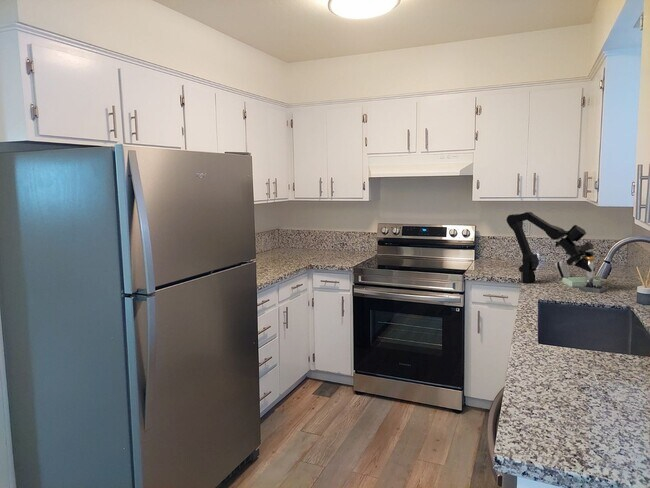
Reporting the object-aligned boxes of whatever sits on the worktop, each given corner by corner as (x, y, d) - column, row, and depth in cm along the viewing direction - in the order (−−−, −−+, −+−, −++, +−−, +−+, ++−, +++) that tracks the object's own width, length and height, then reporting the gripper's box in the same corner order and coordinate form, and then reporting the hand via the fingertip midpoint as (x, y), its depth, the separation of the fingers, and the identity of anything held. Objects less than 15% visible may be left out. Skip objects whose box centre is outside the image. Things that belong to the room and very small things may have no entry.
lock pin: (587, 287, 227) (587, 257, 226) (583, 286, 231) (584, 256, 230) (595, 287, 227) (596, 257, 225) (591, 286, 231) (592, 256, 229)
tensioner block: (579, 290, 230) (579, 284, 230) (585, 288, 234) (585, 282, 234) (599, 292, 222) (599, 286, 222) (605, 290, 227) (605, 284, 226)
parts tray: (572, 287, 238) (572, 281, 237) (562, 283, 250) (562, 277, 249) (600, 286, 236) (600, 281, 236) (589, 282, 248) (589, 277, 248)
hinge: (569, 278, 261) (562, 262, 262) (560, 281, 264) (554, 264, 265) (570, 274, 276) (564, 258, 276) (562, 276, 278) (556, 260, 279)
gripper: (573, 238, 224) (597, 263, 217) (590, 235, 235) (613, 258, 228) (557, 253, 231) (579, 277, 224) (574, 249, 242) (596, 272, 235)
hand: (592, 271), depth 227 cm, fingers closed on lock pin, 3 cm apart
